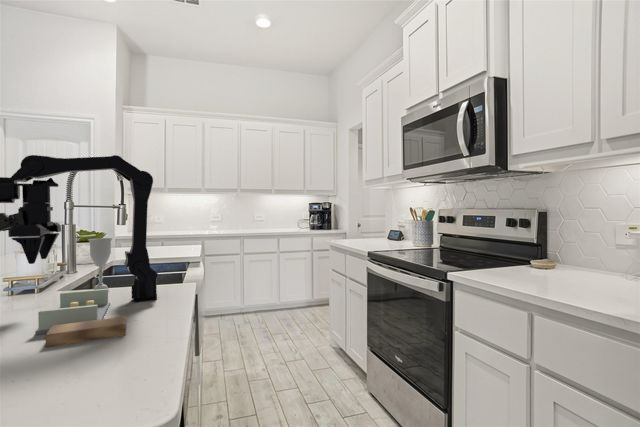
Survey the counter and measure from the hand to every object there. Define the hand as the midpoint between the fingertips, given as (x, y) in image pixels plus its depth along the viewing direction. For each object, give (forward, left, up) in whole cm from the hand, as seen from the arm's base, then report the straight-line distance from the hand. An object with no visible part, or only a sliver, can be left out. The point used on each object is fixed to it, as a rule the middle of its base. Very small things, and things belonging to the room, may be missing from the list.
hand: (38, 261), depth 91 cm
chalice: (-12, -20, -14) cm, 27 cm away
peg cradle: (-11, +10, -14) cm, 20 cm away
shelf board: (-16, +26, -15) cm, 33 cm away
